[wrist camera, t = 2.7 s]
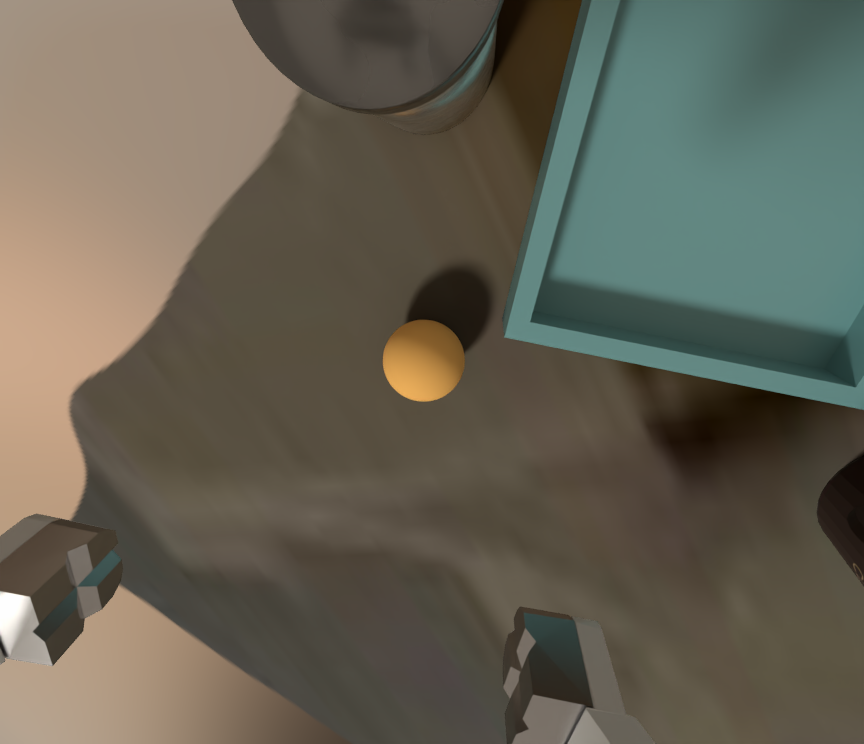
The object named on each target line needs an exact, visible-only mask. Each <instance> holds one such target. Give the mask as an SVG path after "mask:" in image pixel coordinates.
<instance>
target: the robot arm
mask: <svg viewBox="0 0 864 744" xmlns="http://www.w3.org/2000/svg"><path fill="white" fill-rule="evenodd" d="M117 544H118V540H117V536H116V532H115V531H114V530H110V529H106V528H101V527H97V526H92V525H88V524H83V523H78V522H74V521H69V520H65V519H60V518H55V517H50V516H45V515H40V514H34V515H31V516H28V517H26V518H24V519H22V520H21V521H20V522H19V523H17V524H16V525H14V526H13V527H12V528H10V529H9V530H8V531H6V532H5V533H4V534H2V535H1V536H0V664H2V663H3V662H5V658H7V659H13V660H19V661H26V662H31V663H37V664H43V665H50V666H53V665H54V664H55V663H56V662H57V660H58V659H59V658H60V657H61V656H62V655H63V654H64V652H65V651H66V650H67V649H68V648H69V646H70V645H71V644H72V643H73V642H74V641H75V639H77V637H78V636H79V635H80V634H81V633H82V632H83V628H84V619H85V618H86V617H88V616H90V615H92V614H94V613H96V612H98V611H100V610H101V609H102V608H103V607H104V606H105V605H106V604H107V603H108V601H109V600H110V599H111V598H112V597H113V595H114V593H115V591H116V589H117V587H118V585H119V583H120V581H121V578H122V572H123V565H122V559H121V558H120V557H119V556H118V555H117V554H116V553H115V552H114V551H113V548H114V547H115V546H116V545H117ZM514 626H515V630H514V631H512V632H511V633H509V634H508V638H507V641H506V644H505V650H504V657H503V688H504V689H505V691H506V692H507V694H508V696H509V697H510V701H509V703H508V706H507V709H506V711H505V726H506V742H507V744H656V743H655V742H654V740H653V739H652V738H651V737H650V735H649V734H648V733H647V732H646V730H645V729H644V728H643V726H642V725H641V724H640V723H639V721H638V720H637V719H636V718H635V717H634V716H630V715H626V712H625V708H624V705H623V701H622V698H621V694H620V691H619V687H618V684H617V680H616V677H615V673H614V670H613V666H612V663H611V659H610V656H609V652H608V649H607V645H606V642H605V638H604V635H603V631H602V628H601V626H600V624H599V623H598V622H597V621H594V620H589V619H584V618H578V617H573V616H569V615H565V614H560V613H554V612H548V611H543V610H537V609H531V608H526V607H519V609H518V610H517V612H516V614H515V617H514Z"/></svg>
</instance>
